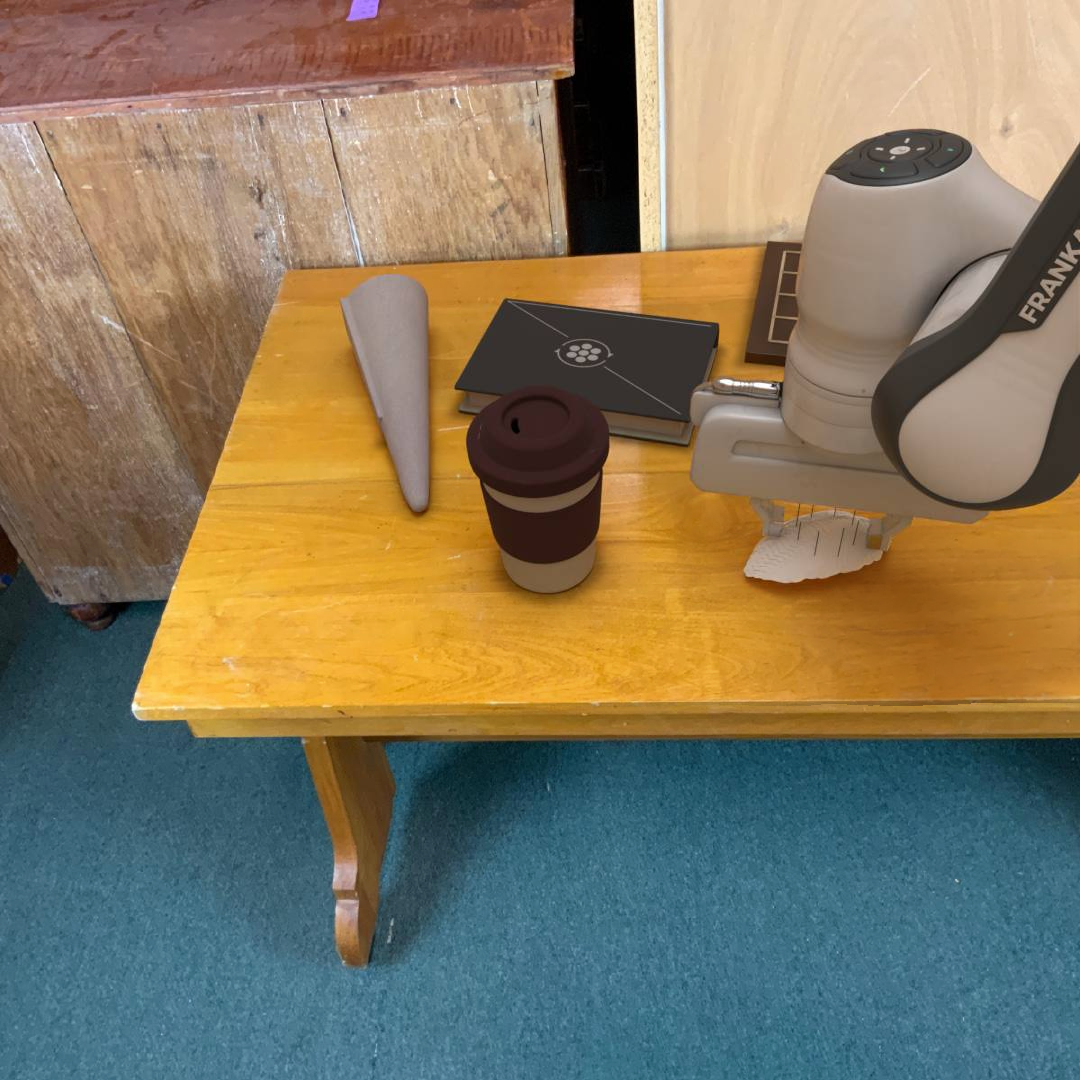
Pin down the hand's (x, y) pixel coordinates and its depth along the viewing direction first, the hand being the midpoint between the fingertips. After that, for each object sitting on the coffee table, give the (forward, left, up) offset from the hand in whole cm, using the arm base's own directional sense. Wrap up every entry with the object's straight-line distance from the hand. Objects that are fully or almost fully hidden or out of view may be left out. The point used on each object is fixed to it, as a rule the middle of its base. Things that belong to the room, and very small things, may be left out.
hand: (823, 536), depth 71 cm
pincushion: (0, 0, -3) cm, 3 cm away
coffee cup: (+20, +4, -3) cm, 21 cm away
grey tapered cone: (+37, -12, -3) cm, 39 cm away
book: (+22, -19, -3) cm, 30 cm away
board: (-2, -34, -3) cm, 34 cm away
